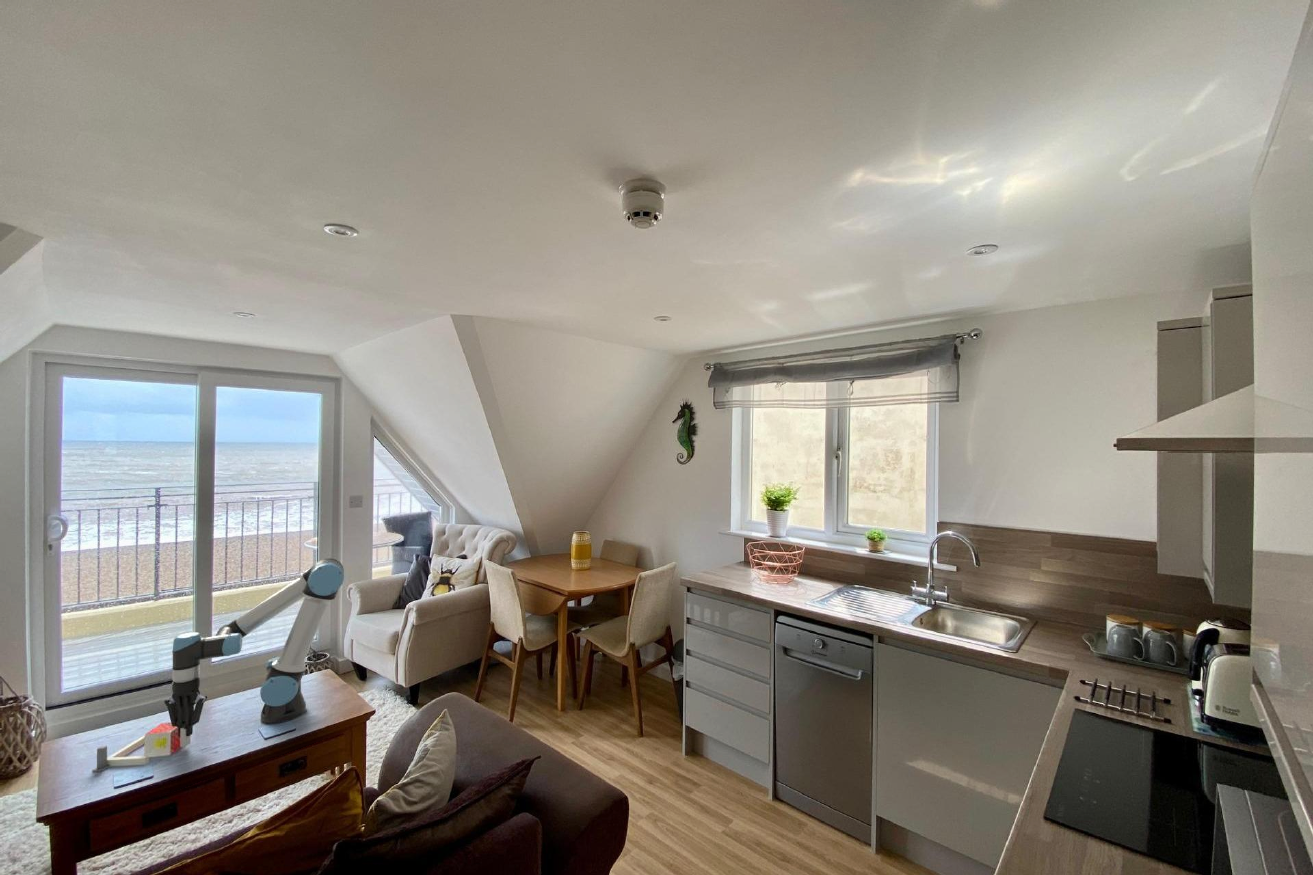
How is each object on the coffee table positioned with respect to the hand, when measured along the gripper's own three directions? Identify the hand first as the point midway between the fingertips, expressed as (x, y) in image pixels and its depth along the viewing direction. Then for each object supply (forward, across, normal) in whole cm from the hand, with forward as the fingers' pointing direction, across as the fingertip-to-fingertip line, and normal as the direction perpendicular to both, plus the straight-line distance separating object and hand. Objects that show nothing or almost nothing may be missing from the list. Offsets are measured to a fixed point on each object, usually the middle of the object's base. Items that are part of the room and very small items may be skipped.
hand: (185, 744), depth 194 cm
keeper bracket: (+2, +14, +1) cm, 14 cm away
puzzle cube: (+2, +7, -1) cm, 7 cm away
